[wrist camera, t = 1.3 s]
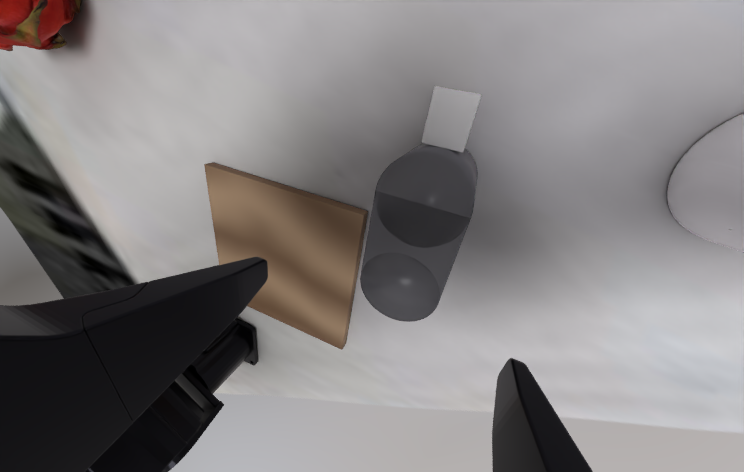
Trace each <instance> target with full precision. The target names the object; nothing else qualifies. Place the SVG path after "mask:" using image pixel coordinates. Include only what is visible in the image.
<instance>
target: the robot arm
mask: <svg viewBox="0 0 744 472" xmlns="http://www.w3.org/2000/svg"><path fill="white" fill-rule="evenodd" d="M267 279H268V263H267V260H265V259H263V258H261V257H252V258H247V259H243V260H239V261H235V262H230V263H226V264H222V265H218V266H213V267H209V268H205V269H200V270H196V271H192V272H188V273H183V274H179V275H175V276H170V277H166V278H162V279H158V280H153V281H150V282H149V283H148V282H145V283H140V284H136V285H132V286H127V287H123V288H118V289H114V290H108V291H103V292H98V293H93V294H88V295H82V296H77V297H71V298H66V299H60V300H55V301H50V302H45V303H38V304H32V305H21V306H3V305H0V472H168V471H169V470H170V469H172V468H173V467H174V466H175V465H176V464H177V463H178V462H179V461H180V460H181V459H182V458H183V457H184V456H185V455H186V454H187V453H188V452H189V450H190V449H191V448H192V446H194V444H195V443H196V442H197V440H198V439H199V438H200V436H201V435H202V434H203V432H204V431H205V430H206V428H207V427H208V426H209V424H210V423H211V422H212V420H213V419H214V418H215V416H216V415H217V414H218V412H219V411H220V410H221V408H222V407H223V406H224V404H223V403H222V402H221V401H219V400H218V399H217V398H216V397H215V396H214V395H213V393H214V392H215V391H216V390H217V389H218V388H219V386H220V385H221V384H222V383H223V382H224V381H225V380H226V379H227V378H228V377H229V376H230V375H231V374H232V373H233V372H234V371H235V370H236V369H237V367H238V366H239V365H240V364H241V363H242V362H243V361H246V362H248V363H250V364H251V365H255V364H256V363H257V362H258V360H257V347H256V335H255V329H254V328H253V327H252V326H250V325H248V324H246V323H244V322H242V321H240V320H238V319H236V318H237V316H238V315H239V314H240V313H241V312H242V311H243V310H244V309H245V307H246V306H247V305H248V304H249V303H250V301H251V300H252V299H253V298H254V296H255V295H256V294H257V293H258V291H259V290H260V289H261V288H262V286H263V285H264V284H265V283H266V281H267ZM492 450H493V451H492V452H493V472H592V470H591V468H590V467H589V465H588V463H587V462H586V460H585V459H584V457H583V455H582V454H581V452H580V451H579V449H578V448H577V446H576V444H575V443H574V441H573V440H572V438H571V436H570V435H569V433H568V431H567V430H566V428H565V427H564V425H563V423H562V422H561V420H560V419H559V417H558V415H557V414H556V412H555V411H554V409H553V407H552V406H551V404H550V403H549V401H548V399H547V398H546V396H545V395H544V393H543V391H542V390H541V388H540V387H539V385H538V383H537V382H536V380H535V379H534V377H533V375H532V374H531V372H530V371H529V369H528V367H527V366H526V365H525V364H524V363H523V362H520V361H518V360H515V359H513V358H510V359H509V360H508V361H507V362H506V364H505V366H504V367H503V369H502V370H501V372H500V373H499V376H498V379H497V388H496V398H495V408H494V418H493V430H492Z"/></svg>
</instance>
